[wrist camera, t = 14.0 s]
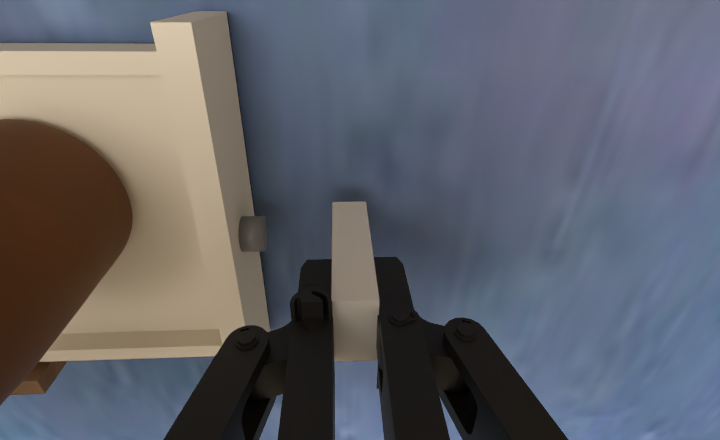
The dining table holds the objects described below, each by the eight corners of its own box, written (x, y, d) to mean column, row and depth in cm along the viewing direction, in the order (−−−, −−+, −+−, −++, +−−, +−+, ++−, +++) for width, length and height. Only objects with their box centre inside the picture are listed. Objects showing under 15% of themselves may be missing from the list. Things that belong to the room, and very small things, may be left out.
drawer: (-19, 339, 25) (-88, 411, 20) (-230, 7, 16) (-428, 18, 12) (286, 330, 25) (277, 397, 21) (251, 11, 17) (224, 22, 12)
